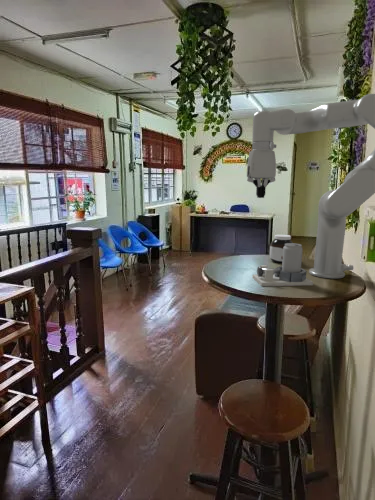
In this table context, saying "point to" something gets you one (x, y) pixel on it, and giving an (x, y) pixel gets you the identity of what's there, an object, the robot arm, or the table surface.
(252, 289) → the table surface
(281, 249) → the spread jar
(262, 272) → the lock pin
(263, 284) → the dock board
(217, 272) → the table surface
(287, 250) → the beverage can
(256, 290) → the table surface
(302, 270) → the socket
